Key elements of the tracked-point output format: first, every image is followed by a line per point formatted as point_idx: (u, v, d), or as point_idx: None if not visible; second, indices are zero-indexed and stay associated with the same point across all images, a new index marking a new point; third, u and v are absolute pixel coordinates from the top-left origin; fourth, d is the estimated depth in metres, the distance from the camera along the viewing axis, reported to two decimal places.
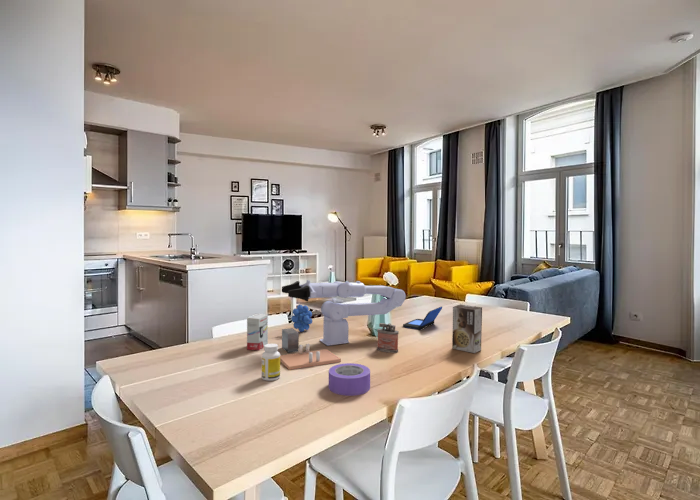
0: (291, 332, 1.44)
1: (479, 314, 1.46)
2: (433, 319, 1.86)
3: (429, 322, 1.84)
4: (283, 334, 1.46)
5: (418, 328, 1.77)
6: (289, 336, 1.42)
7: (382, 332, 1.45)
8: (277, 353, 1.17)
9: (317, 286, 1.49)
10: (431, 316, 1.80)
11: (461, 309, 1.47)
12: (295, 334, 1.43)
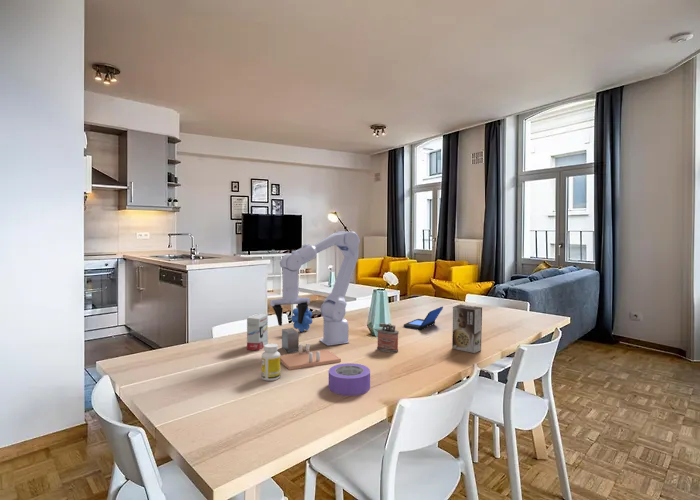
0: (291, 332, 1.43)
1: (479, 314, 1.46)
2: (434, 319, 1.86)
3: (430, 322, 1.84)
4: (283, 334, 1.46)
5: (419, 328, 1.77)
6: (289, 336, 1.42)
7: (382, 332, 1.45)
8: (277, 353, 1.17)
9: (297, 292, 1.44)
10: (432, 316, 1.80)
11: (461, 309, 1.47)
12: (295, 334, 1.43)
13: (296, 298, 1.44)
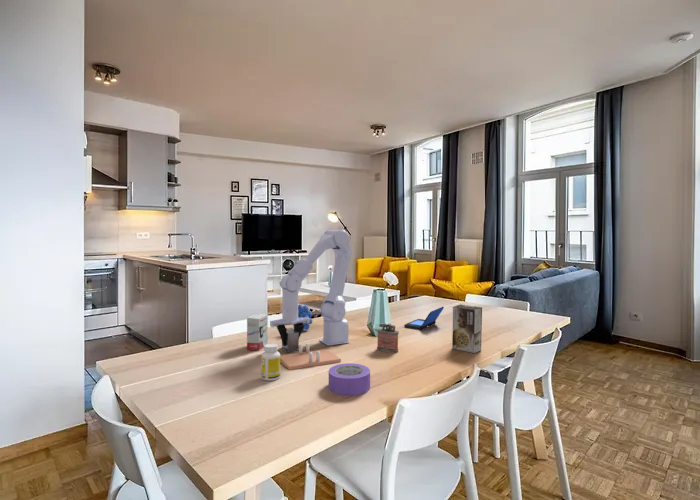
0: (291, 332, 1.43)
1: (479, 314, 1.46)
2: (434, 319, 1.86)
3: (430, 322, 1.84)
4: None
5: (419, 328, 1.77)
6: (289, 336, 1.42)
7: (382, 332, 1.45)
8: (277, 353, 1.17)
9: (297, 312, 1.44)
10: (432, 316, 1.80)
11: (461, 309, 1.47)
12: (295, 334, 1.43)
13: (296, 319, 1.44)
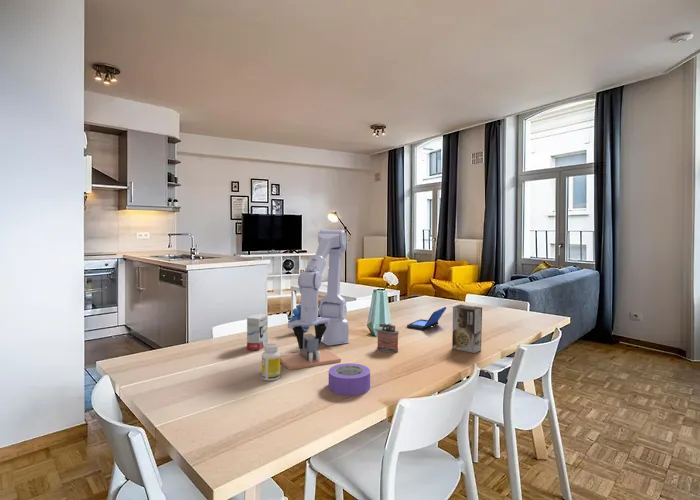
0: (310, 338, 1.32)
1: (479, 314, 1.46)
2: (437, 320, 1.85)
3: (433, 323, 1.83)
4: None
5: (422, 329, 1.76)
6: (308, 343, 1.30)
7: (382, 332, 1.45)
8: (277, 353, 1.17)
9: (317, 313, 1.33)
10: (435, 317, 1.79)
11: (461, 309, 1.47)
12: (315, 340, 1.31)
13: (316, 319, 1.32)
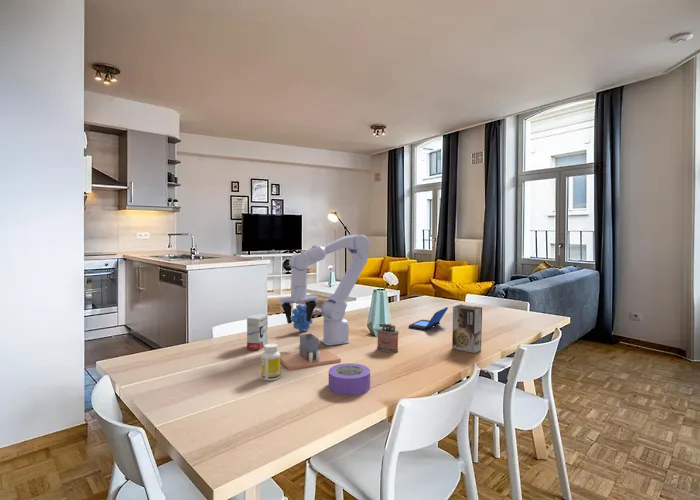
0: (310, 338, 1.32)
1: (479, 314, 1.46)
2: (438, 320, 1.85)
3: (435, 323, 1.82)
4: (301, 340, 1.35)
5: (424, 329, 1.76)
6: (308, 343, 1.30)
7: (382, 332, 1.45)
8: (277, 353, 1.17)
9: (305, 290, 1.48)
10: (437, 317, 1.78)
11: (462, 309, 1.47)
12: (315, 340, 1.31)
13: (304, 296, 1.47)
